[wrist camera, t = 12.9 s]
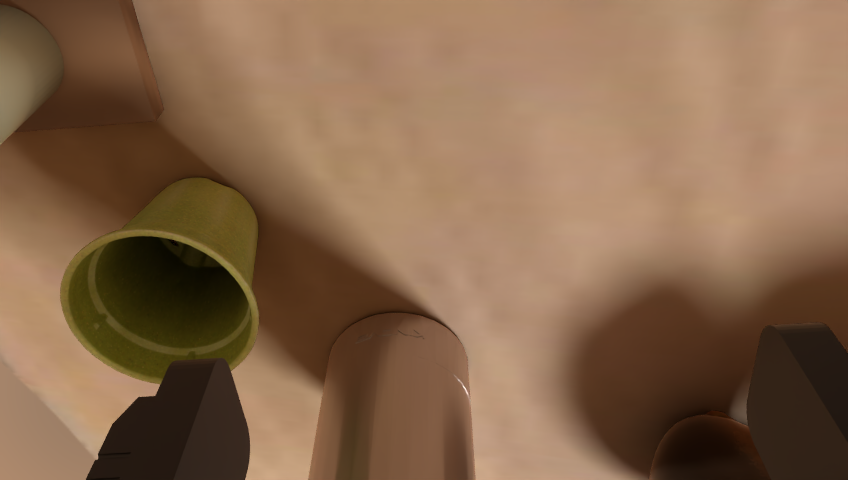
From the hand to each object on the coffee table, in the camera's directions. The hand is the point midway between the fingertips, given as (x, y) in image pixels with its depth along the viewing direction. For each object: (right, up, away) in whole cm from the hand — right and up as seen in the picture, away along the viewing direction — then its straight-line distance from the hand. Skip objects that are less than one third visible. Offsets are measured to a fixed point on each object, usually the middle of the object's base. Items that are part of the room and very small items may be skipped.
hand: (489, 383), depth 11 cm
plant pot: (-14, +3, +32) cm, 35 cm away
